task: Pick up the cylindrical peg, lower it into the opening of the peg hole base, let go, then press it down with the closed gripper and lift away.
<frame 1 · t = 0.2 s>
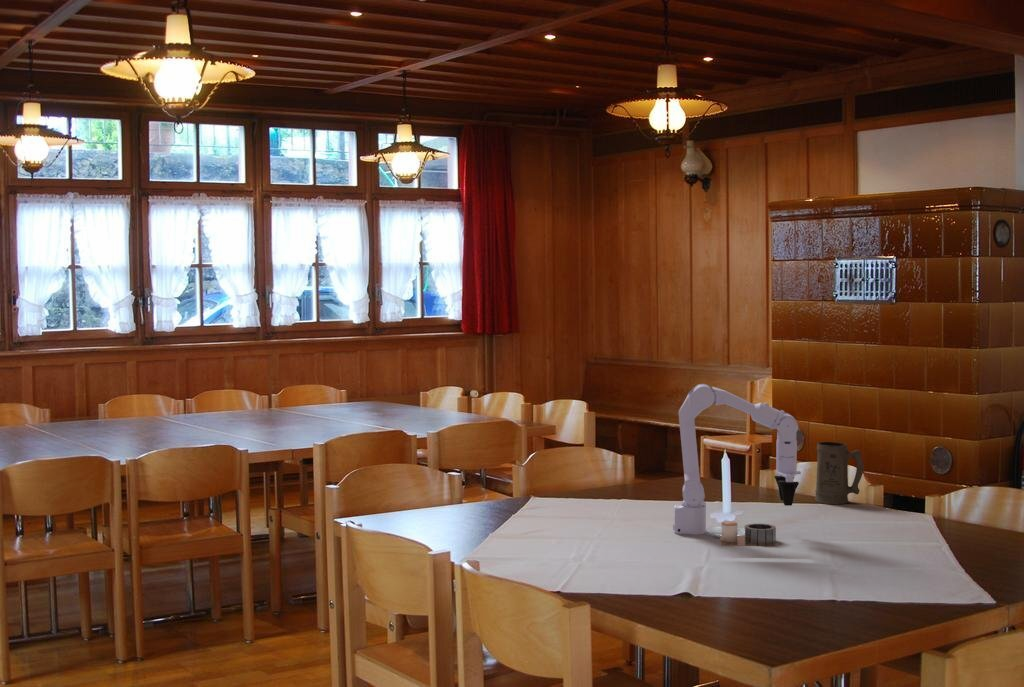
hand: (786, 502, 336), 10 cm above the table, fingers open, 7 cm apart
beer stein: (838, 502, 388), on the table
cylindrical peg: (729, 540, 328), point 1 cm above the table, touching peg hole base
peg hole base: (760, 544, 327), on the table
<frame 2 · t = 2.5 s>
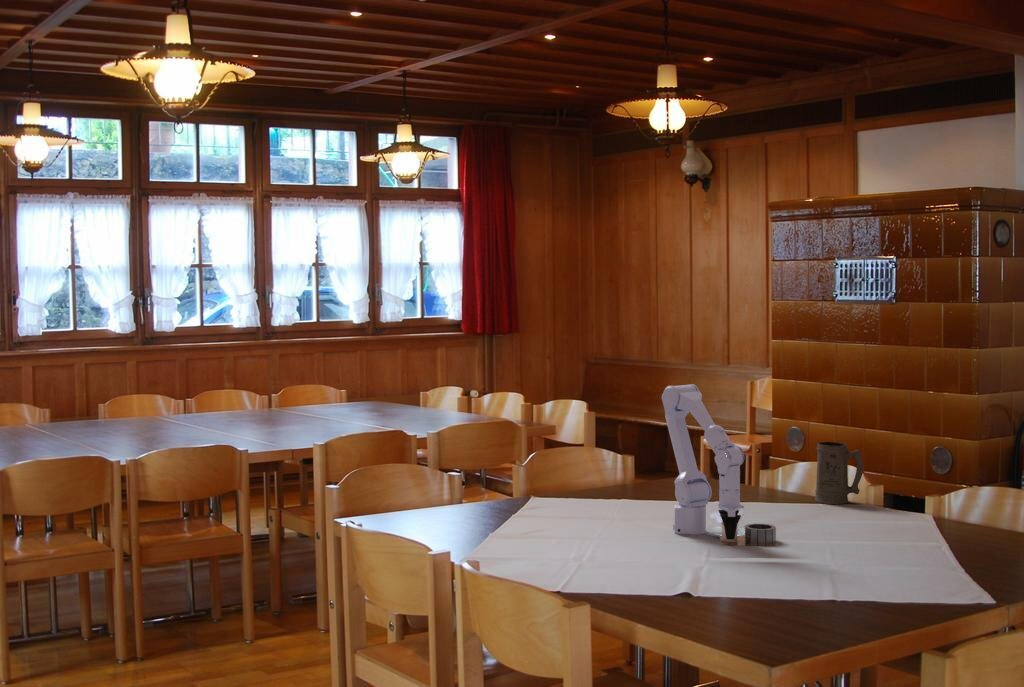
hand: (729, 537, 328), 2 cm above the table, fingers closed on cylindrical peg, 4 cm apart
cylindrical peg: (729, 540, 328), point 1 cm above the table, touching gripper, peg hole base
everything else where it was.
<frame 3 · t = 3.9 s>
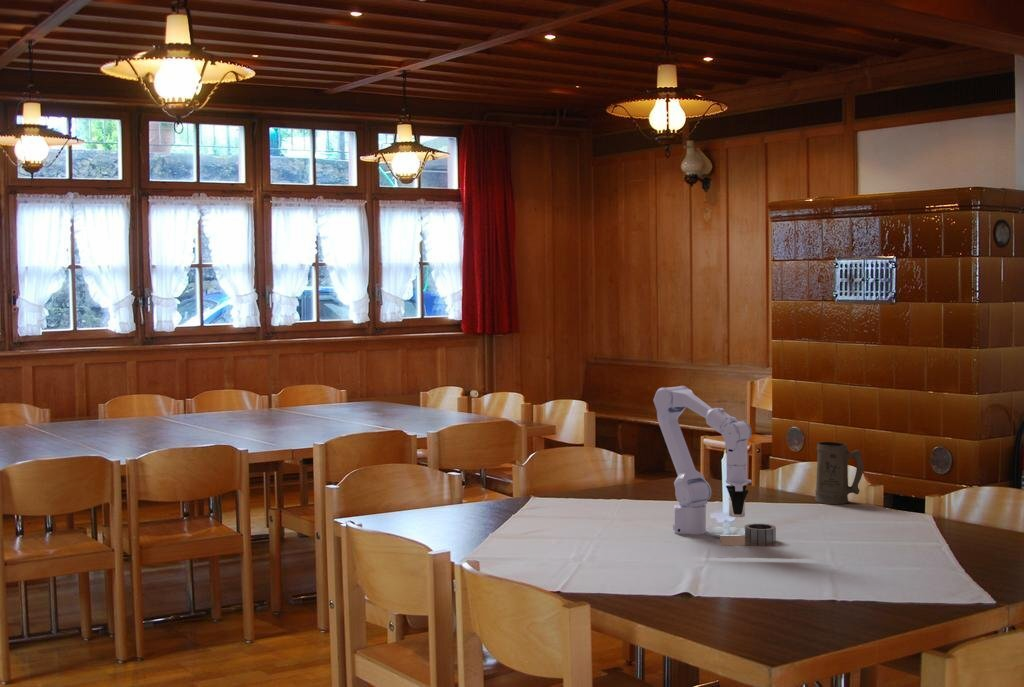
hand: (737, 512, 327), 9 cm above the table, fingers closed on cylindrical peg, 4 cm apart
cylindrical peg: (737, 515, 327), point 8 cm above the table, touching gripper
everything else where it was.
when the fingers open (5 cm above the table, at t = 5.5 s): cylindrical peg drops 3 cm, resting on peg hole base.
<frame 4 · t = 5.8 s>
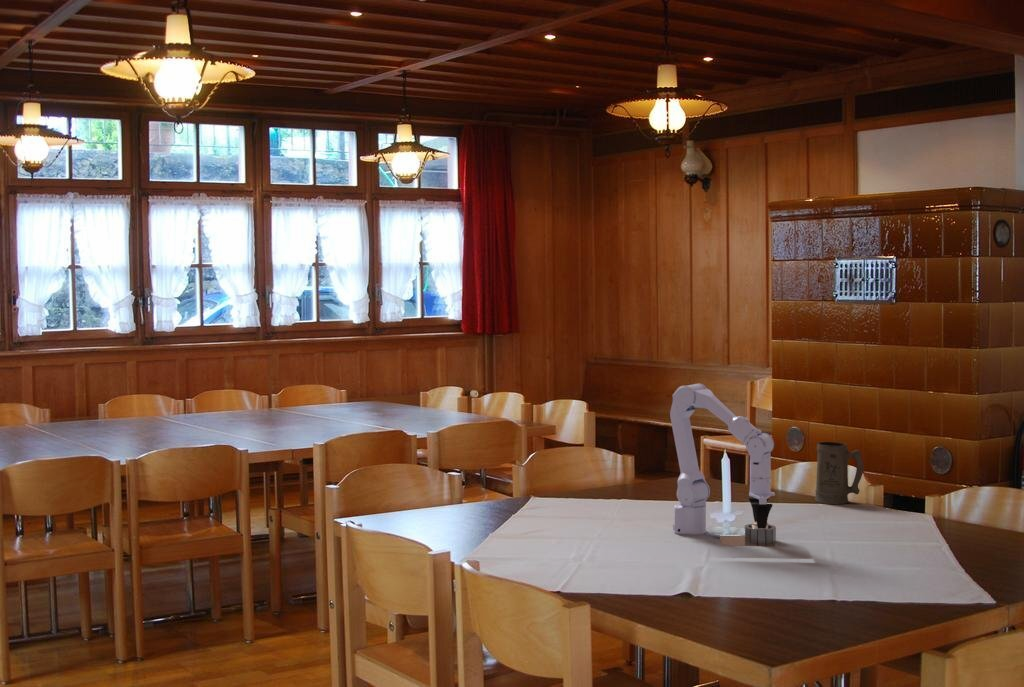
hand: (760, 525, 327), 5 cm above the table, fingers open, 7 cm apart
cylindrical peg: (760, 540, 327), point 1 cm above the table, touching peg hole base
everything else where it was.
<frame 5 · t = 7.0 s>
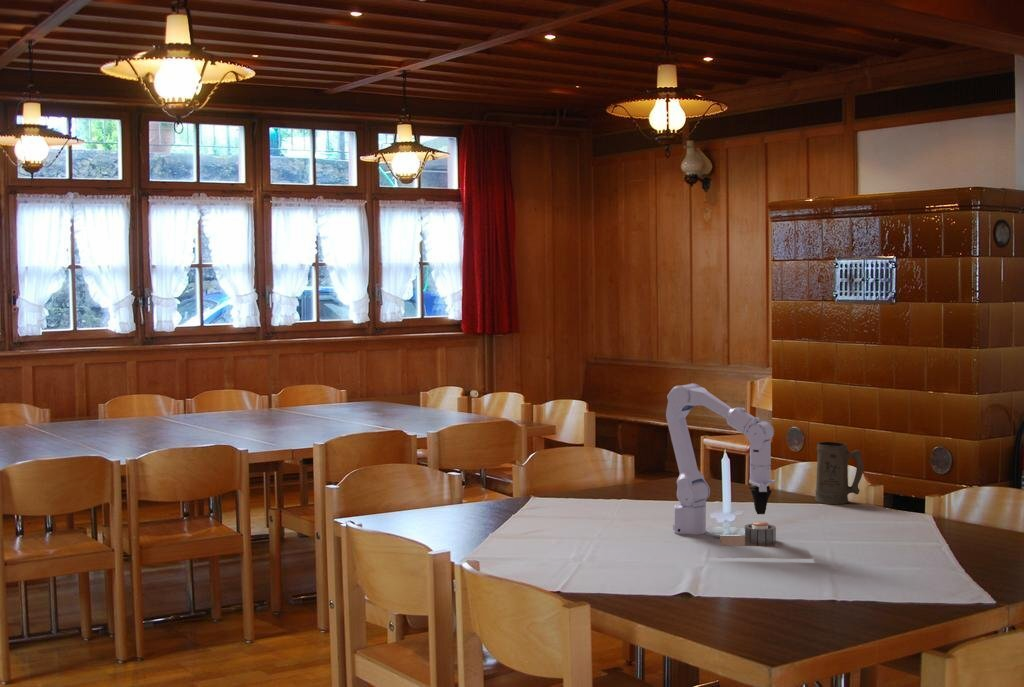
hand: (760, 512, 327), 9 cm above the table, fingers open, 3 cm apart
nothing on the table moved.
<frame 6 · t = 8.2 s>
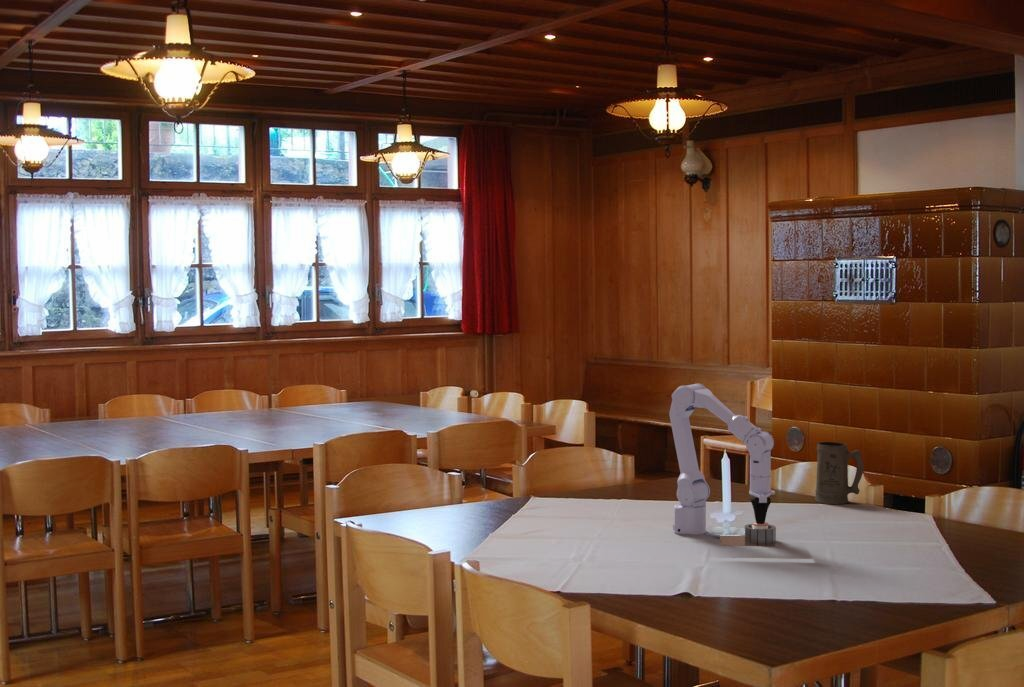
hand: (760, 523, 327), 6 cm above the table, fingers closed, pressing on cylindrical peg
cylindrical peg: (760, 540, 327), point 1 cm above the table, touching gripper, peg hole base
everything else where it was.
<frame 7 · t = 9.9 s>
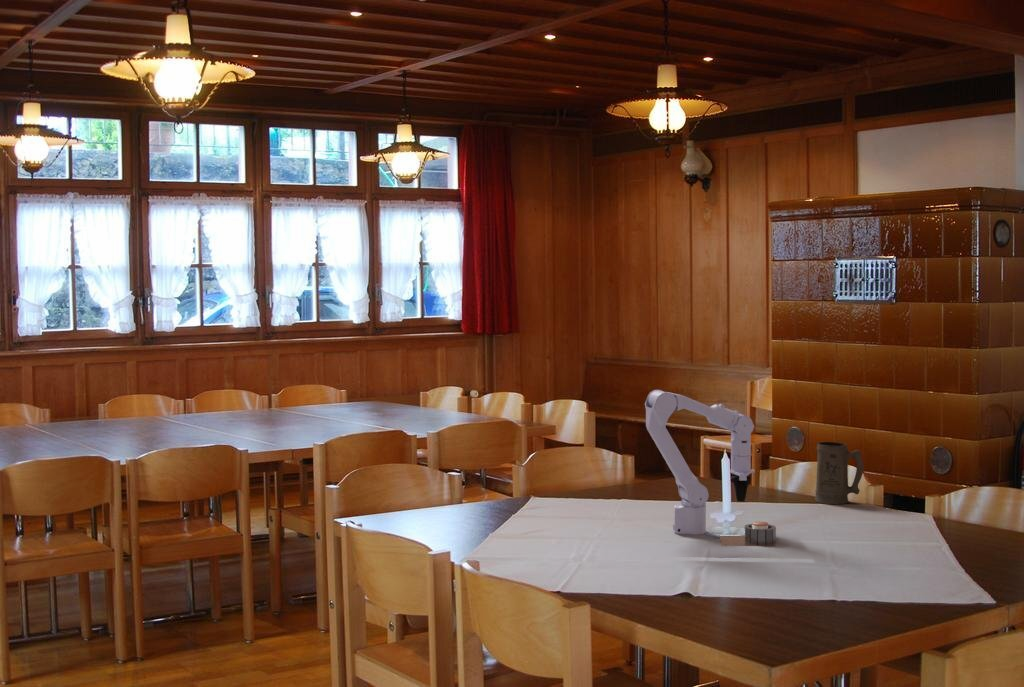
hand: (740, 501, 342), 9 cm above the table, fingers closed
cylindrical peg: (760, 540, 327), point 1 cm above the table, touching peg hole base
everything else where it was.
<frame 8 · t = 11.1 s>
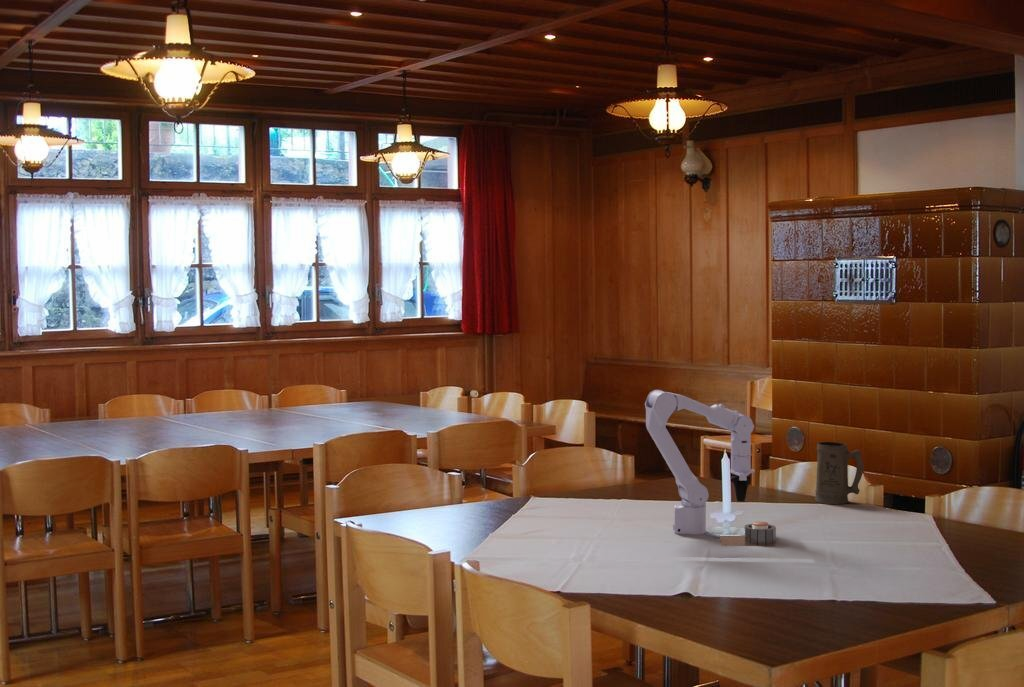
hand: (740, 501, 342), 9 cm above the table, fingers closed
nothing on the table moved.
at the end: cylindrical peg 0.1 cm off-centre on the peg hole base, point 1.0 cm above the peg hole base's base; cylindrical peg tilted 0°; the gripper is holding nothing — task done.
